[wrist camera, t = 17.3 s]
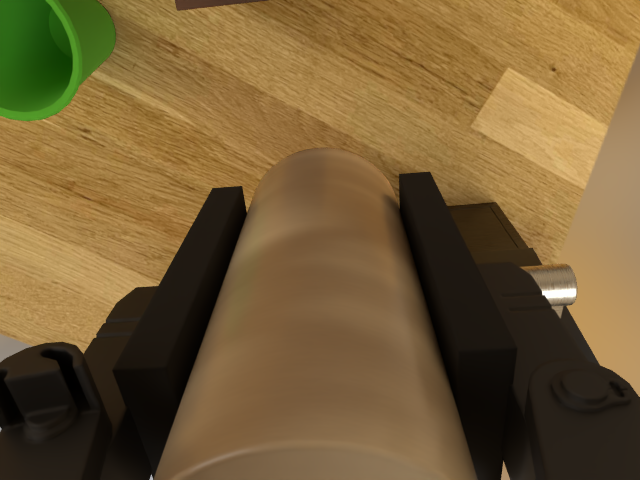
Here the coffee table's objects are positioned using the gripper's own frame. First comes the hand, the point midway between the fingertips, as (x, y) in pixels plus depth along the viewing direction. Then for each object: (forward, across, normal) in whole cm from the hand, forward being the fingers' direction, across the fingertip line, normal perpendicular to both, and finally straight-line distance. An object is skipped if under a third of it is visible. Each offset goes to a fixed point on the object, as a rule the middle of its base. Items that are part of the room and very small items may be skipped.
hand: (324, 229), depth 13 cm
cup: (+31, -19, +4) cm, 37 cm away
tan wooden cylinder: (+1, 0, 0) cm, 1 cm away
